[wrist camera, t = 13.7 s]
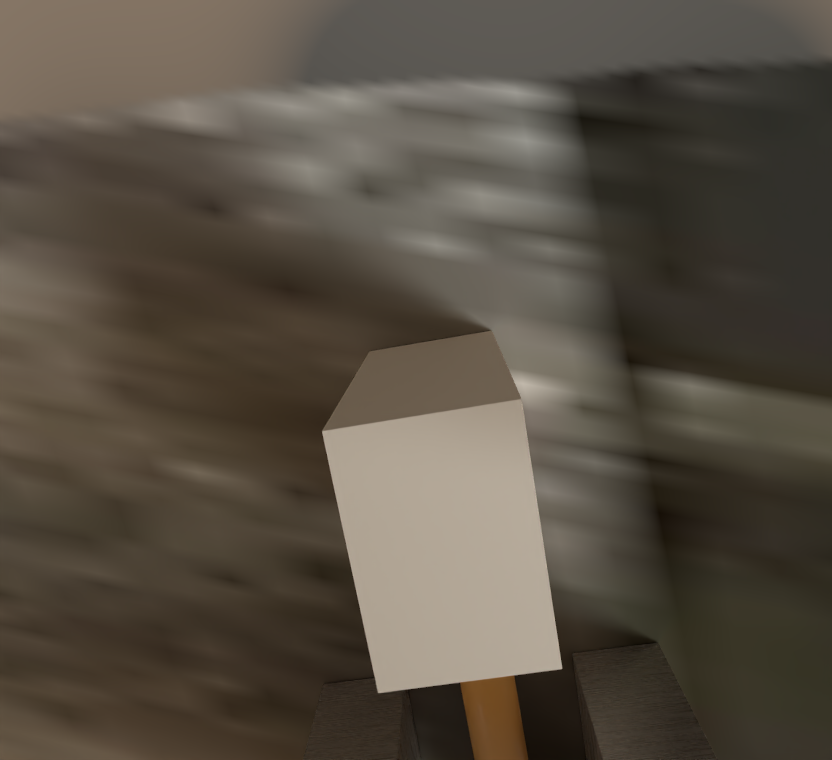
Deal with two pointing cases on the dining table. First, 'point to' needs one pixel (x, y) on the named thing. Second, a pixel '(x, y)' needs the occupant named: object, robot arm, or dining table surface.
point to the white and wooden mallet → (445, 529)
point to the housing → (598, 701)
